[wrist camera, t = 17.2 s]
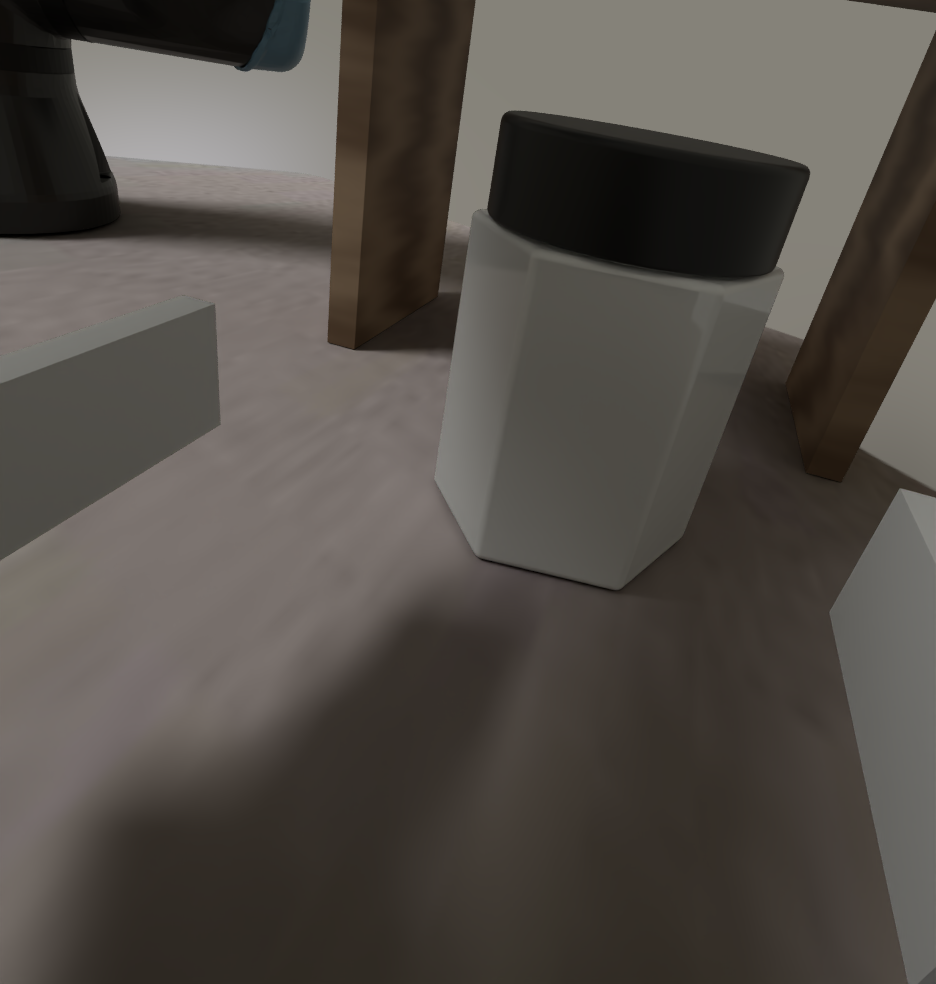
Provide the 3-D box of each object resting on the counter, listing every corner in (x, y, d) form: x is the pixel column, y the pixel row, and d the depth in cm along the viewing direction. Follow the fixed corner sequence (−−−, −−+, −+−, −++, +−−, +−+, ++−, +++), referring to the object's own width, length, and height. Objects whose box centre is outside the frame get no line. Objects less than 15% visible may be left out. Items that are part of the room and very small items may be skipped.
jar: (672, 483, 27) (791, 155, 21) (691, 615, 20) (876, 185, 14) (456, 435, 28) (509, 104, 22) (403, 546, 21) (458, 108, 15)
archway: (841, 482, 30) (1136, -92, 20) (327, 342, 35) (350, -177, 24) (812, 389, 40) (998, -23, 30) (416, 291, 45) (458, -93, 34)
